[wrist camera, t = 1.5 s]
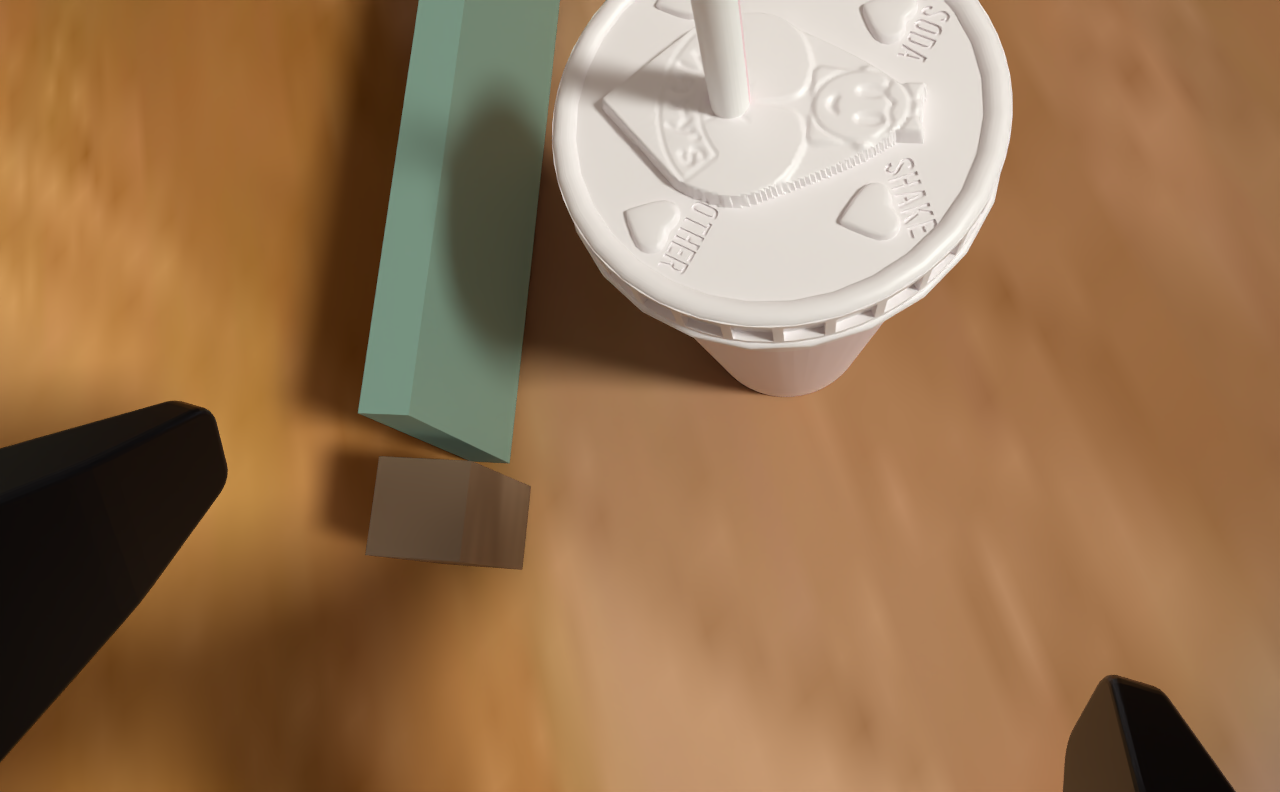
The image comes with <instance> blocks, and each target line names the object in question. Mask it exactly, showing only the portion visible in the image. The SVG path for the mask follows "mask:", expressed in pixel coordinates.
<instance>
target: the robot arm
mask: <svg viewBox="0 0 1280 792" xmlns="http://www.w3.org/2000/svg"><path fill="white" fill-rule="evenodd" d="M227 472H228V469H227V463H226V459H225V455H224V451H223V447H222V443H221V439H220V435H219V431H218V427H217V422H216V420H215V417H214V416H213V414H212V413H211V412H210V411H209V410H207V409H205V408H202V407H199V406H196V405H192V404H189V403H185V402H182V401H168V402H164V403H160V404H157V405H153V406H150V407H146V408H142V409H139V410H135V411H132V412H128V413H125V414H121V415H118V416H114V417H110V418H107V419H103V420H100V421H96V422H93V423H89V424H86V425H82V426H78V427H75V428H71V429H68V430H64V431H61V432H57V433H54V434H50V435H46V436H43V437H39V438H36V439H32V440H29V441H25V442H22V443H18V444H14V445H11V446H7V447H4V448H0V762H1V761H2V760H3V759H4V758H5V757H6V755H7V754H8V753H9V752H10V751H11V750H12V749H13V747H14V746H15V745H16V744H17V743H18V742H19V741H20V740H21V738H22V737H23V736H24V735H25V734H26V733H27V732H28V730H29V729H30V728H31V727H32V726H33V725H34V724H35V722H36V721H37V720H38V719H39V718H40V717H41V716H42V714H43V713H44V712H45V711H46V710H47V709H48V708H49V707H50V705H51V704H52V703H53V702H54V701H55V700H56V699H57V697H58V696H59V695H60V694H61V693H62V692H63V691H64V689H65V688H66V687H67V686H68V685H69V684H70V683H71V682H72V680H73V679H74V678H75V677H76V676H77V675H78V674H79V672H80V671H81V670H82V669H83V668H84V667H85V666H86V664H87V663H88V662H89V661H90V660H91V659H92V658H93V656H94V655H95V654H96V653H97V652H98V651H99V650H100V649H101V647H102V646H103V645H104V644H105V643H106V642H107V641H108V639H109V638H110V637H111V636H112V635H113V634H114V633H115V631H116V630H117V629H118V628H119V627H120V626H121V625H122V624H123V622H124V621H125V620H126V619H127V618H128V616H129V615H130V614H131V613H132V612H133V611H134V609H135V608H136V607H137V606H138V605H139V603H140V602H141V601H142V599H143V598H144V597H145V596H146V594H147V593H148V592H149V590H150V589H151V588H152V586H153V585H154V584H155V582H156V581H157V580H158V578H159V577H160V575H161V574H162V573H163V571H164V570H165V569H166V567H167V566H168V564H169V563H170V562H171V560H172V559H173V558H174V556H175V555H176V553H177V552H178V551H179V549H180V548H181V546H182V545H183V544H184V542H185V541H186V540H187V538H188V537H189V535H190V534H191V533H192V531H193V530H194V529H195V527H196V526H197V524H198V523H199V522H200V520H201V519H202V518H203V516H204V515H205V513H206V512H207V511H208V509H209V508H210V506H211V505H212V504H213V502H214V501H215V500H216V498H217V497H218V495H219V494H220V493H221V491H222V489H223V487H224V485H225V483H226V479H227ZM1063 792H1236V791H1235V790H1234V789H1233V787H1232V786H1231V784H1230V783H1229V782H1228V780H1227V779H1226V778H1225V776H1224V775H1223V773H1222V772H1221V771H1220V769H1219V768H1218V766H1217V765H1216V764H1215V762H1214V761H1213V759H1212V758H1211V757H1210V755H1209V754H1208V752H1207V751H1206V750H1205V748H1204V747H1203V745H1202V744H1201V743H1200V741H1199V740H1198V738H1197V737H1196V736H1195V734H1194V733H1193V731H1192V730H1191V729H1190V727H1189V726H1188V725H1187V723H1186V722H1185V720H1184V719H1183V718H1182V716H1181V715H1180V713H1179V712H1178V711H1177V709H1176V708H1175V706H1174V705H1173V704H1172V702H1171V701H1170V699H1169V698H1168V697H1167V696H1166V694H1164V693H1163V692H1162V691H1161V690H1160V689H1158V688H1157V687H1154V686H1152V685H1148V684H1145V683H1142V682H1138V681H1135V680H1131V679H1128V678H1125V677H1121V676H1118V675H1108V676H1106V677H1105V678H1103V679H1102V680H1101V681H1100V682H1099V684H1098V685H1097V687H1096V689H1095V691H1094V693H1093V694H1092V696H1091V698H1090V700H1089V702H1088V703H1087V705H1086V707H1085V709H1084V711H1083V712H1082V714H1081V716H1080V718H1079V719H1078V721H1077V723H1076V725H1075V727H1074V728H1073V730H1072V732H1071V735H1070V738H1069V741H1068V745H1067V749H1066V755H1065V767H1064V783H1063Z"/></svg>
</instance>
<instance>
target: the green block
mask: <svg viewBox="0 0 1280 792" xmlns="http://www.w3.org/2000/svg"><path fill="white" fill-rule="evenodd" d="M559 3H560V0H419V3H418V10H417V17H416V23H415V30H414V37H413V44H412V50H411V57H410V64H409V71H408V77H407V84H406V91H405V98H404V105H403V111H402V118H401V125H400V132H399V138H398V145H397V152H396V159H395V165H394V172H393V179H392V186H391V192H390V199H389V206H388V213H387V219H386V226H385V233H384V240H383V247H382V253H381V260H380V267H379V274H378V280H377V287H376V294H375V301H374V307H373V314H372V321H371V328H370V334H369V341H368V348H367V355H366V361H365V368H364V375H363V382H362V389H361V395H360V402H359V409H358V413H359V414H361V415H363V416H366V417H368V418H370V419H373V420H375V421H377V422H380V423H382V424H385V425H387V426H389V427H392V428H394V429H396V430H399V431H401V432H403V433H406V434H408V435H410V436H413V437H415V438H417V439H420V440H422V441H424V442H427V443H429V444H431V445H434V446H436V447H438V448H441V449H443V450H445V451H448V452H450V453H452V454H455V455H457V456H459V457H462V458H464V459H466V460H469V461H474V462H494V463H510V455H511V445H512V436H513V427H514V418H515V409H516V399H517V390H518V381H519V372H520V363H521V353H522V344H523V335H524V326H525V316H526V307H527V298H528V289H529V280H530V270H531V261H532V252H533V243H534V234H535V224H536V215H537V206H538V197H539V188H540V178H541V169H542V160H543V151H544V141H545V132H546V123H547V114H548V105H549V95H550V86H551V77H552V68H553V59H554V49H555V40H556V31H557V22H558V13H559Z"/></svg>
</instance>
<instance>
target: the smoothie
mask: <svg viewBox="0 0 1280 792" xmlns="http://www.w3.org/2000/svg"><path fill="white" fill-rule="evenodd" d="M1011 125H1012V88H1011V80H1010V73H1009V69H1008V65H1007V60H1006V56H1005V53H1004V50H1003V47H1002V45H1001V42H1000V39H999V37H998V34H997V32H996V30H995V28H994V26H993V24H992V22H991V20H990V18H989V16H988V15H987V13H986V12H985V10H984V9H983V7H982V6H981V4H980V3H979V1H978V0H606V1H605V2H604V4H603V5H602V6H601V7H600V8H599V10H598V11H597V12H596V13H595V14H594V16H593V17H592V19H591V20H590V22H589V23H588V25H587V26H586V28H585V29H584V30H583V32H582V34H581V36H580V37H579V39H578V41H577V43H576V45H575V46H574V48H573V50H572V52H571V55H570V57H569V59H568V62H567V64H566V66H565V69H564V72H563V75H562V78H561V81H560V84H559V88H558V92H557V96H556V101H555V106H554V115H553V123H552V148H553V158H554V166H555V171H556V175H557V180H558V184H559V187H560V190H561V193H562V197H563V200H564V202H565V204H566V207H567V209H568V211H569V213H570V216H571V218H572V220H573V221H574V225H575V229H576V232H577V234H578V235H579V237H580V239H581V240H582V242H583V244H584V245H585V247H586V249H587V250H588V252H589V254H590V255H591V257H592V258H593V260H594V262H595V263H596V265H597V267H598V268H599V270H600V272H601V273H602V275H603V276H604V277H605V278H606V279H607V280H608V281H609V282H610V283H611V284H613V285H614V286H615V287H616V288H617V289H618V290H619V291H620V292H621V293H622V294H623V295H624V296H626V297H627V298H628V299H629V300H630V301H631V302H632V303H633V304H634V305H635V306H636V307H638V308H639V309H640V310H641V311H642V312H643V313H645V314H647V315H649V316H651V317H653V318H655V319H657V320H659V321H661V322H663V323H665V324H667V325H669V326H671V327H673V328H675V329H677V330H679V331H681V332H683V333H685V334H687V335H689V336H691V337H693V338H694V339H695V340H696V341H697V342H698V343H699V344H701V345H702V346H703V347H704V348H705V349H706V350H707V351H708V352H709V353H710V354H711V355H712V356H713V357H714V358H715V359H716V360H717V361H718V362H719V363H720V364H721V365H722V366H723V367H724V368H725V369H726V370H727V371H728V372H729V373H730V374H731V375H732V376H733V377H734V378H735V379H736V380H738V381H739V382H740V383H742V384H743V385H745V386H747V387H748V388H750V389H753V390H755V391H757V392H760V393H763V394H767V395H771V396H778V397H793V396H800V395H805V394H809V393H812V392H815V391H817V390H820V389H822V388H824V387H826V386H827V385H829V384H831V383H832V382H834V381H835V380H836V379H837V378H839V377H840V376H841V375H842V374H843V373H844V372H845V371H846V370H847V369H848V367H849V366H850V365H851V364H852V362H853V361H854V360H855V358H856V357H857V356H858V354H859V353H860V352H861V351H862V349H863V348H864V347H865V345H866V344H867V343H868V342H869V340H870V339H871V338H872V336H873V335H874V334H875V332H876V331H877V330H878V329H879V327H880V326H881V325H882V323H883V322H884V321H885V320H887V319H889V318H890V317H892V316H894V315H895V314H897V313H899V312H900V311H902V310H904V309H905V308H907V307H909V306H910V305H912V304H914V303H915V302H917V301H919V300H920V299H922V298H924V297H925V296H926V295H927V294H928V293H929V292H930V291H931V290H932V289H933V288H934V287H935V286H936V284H937V283H938V282H939V281H940V280H941V279H942V278H943V277H944V276H945V275H946V274H947V273H948V272H949V271H950V270H951V269H952V268H953V267H954V266H955V265H956V264H957V263H958V262H959V261H960V260H961V259H962V258H963V257H964V256H965V255H966V254H967V252H968V250H969V248H970V246H971V244H972V242H973V241H974V239H975V237H976V235H977V233H978V231H979V230H980V228H981V226H982V224H983V222H984V220H985V218H986V217H987V215H988V213H989V211H990V209H991V207H992V206H993V204H994V201H995V197H996V192H997V187H998V182H999V177H1000V173H1001V170H1002V167H1003V164H1004V161H1005V158H1006V154H1007V149H1008V145H1009V140H1010V134H1011Z"/></svg>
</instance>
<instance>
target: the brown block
mask: <svg viewBox="0 0 1280 792" xmlns="http://www.w3.org/2000/svg"><path fill="white" fill-rule="evenodd" d="M530 489H531V486H529V485H526V484H524V483H522V482H519V481H517V480H515V479H512V478H510V477H508V476H505V475H503V474H501V473H498V472H496V471H494V470H491V469H489V468H487V467H484V466H482V465H480V464H477V463H475V462H473V461H463V460H443V459H423V458H403V457H384V456H379V462H378V469H377V476H376V483H375V490H374V498H373V505H372V512H371V519H370V526H369V533H368V540H367V547H366V554H365V555H370V556H379V557H388V558H397V559H406V560H414V561H423V562H432V563H441V564H453V565H467V566H480V567H493V568H507V569H520V570H522V567H523V558H524V548H525V538H526V528H527V519H528V509H529V499H530Z"/></svg>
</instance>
